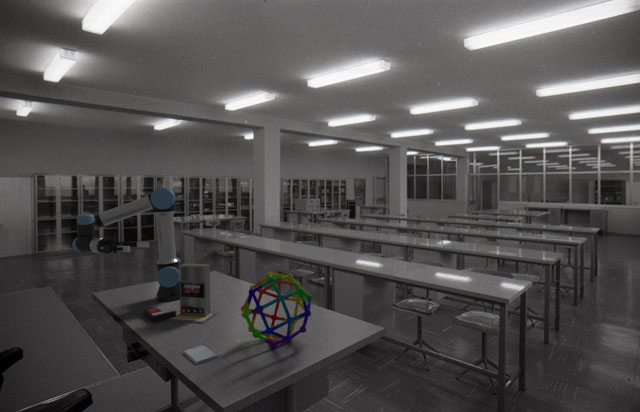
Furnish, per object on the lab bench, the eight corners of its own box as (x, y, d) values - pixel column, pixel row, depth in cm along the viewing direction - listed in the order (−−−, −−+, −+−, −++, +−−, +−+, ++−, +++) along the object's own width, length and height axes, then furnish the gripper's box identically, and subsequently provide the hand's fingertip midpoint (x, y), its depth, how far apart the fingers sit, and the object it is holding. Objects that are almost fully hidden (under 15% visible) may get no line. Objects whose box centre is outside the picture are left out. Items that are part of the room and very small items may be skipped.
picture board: (180, 311, 192) (180, 310, 192) (217, 313, 187) (217, 312, 187) (163, 320, 178) (163, 319, 178) (203, 323, 173) (203, 322, 173)
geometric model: (299, 273, 173) (241, 261, 158) (336, 284, 148) (270, 270, 133) (284, 338, 169) (222, 332, 153) (319, 360, 144) (249, 356, 128)
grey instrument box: (179, 315, 183) (178, 265, 182) (185, 311, 189) (184, 263, 188) (205, 317, 181) (204, 266, 180) (210, 312, 187) (210, 264, 186)
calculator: (165, 304, 192) (176, 309, 181) (165, 312, 192) (176, 318, 181) (142, 308, 185) (152, 314, 174) (143, 317, 185) (153, 323, 174)
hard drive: (217, 355, 138) (203, 344, 147) (196, 361, 133) (183, 350, 142) (217, 359, 138) (203, 348, 148) (196, 366, 133) (183, 354, 142)
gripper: (121, 249, 198) (155, 250, 194) (82, 257, 174) (120, 259, 169) (120, 235, 198) (155, 236, 193) (81, 241, 173) (120, 242, 169)
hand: (139, 246), depth 181 cm, fingers open, 13 cm apart
